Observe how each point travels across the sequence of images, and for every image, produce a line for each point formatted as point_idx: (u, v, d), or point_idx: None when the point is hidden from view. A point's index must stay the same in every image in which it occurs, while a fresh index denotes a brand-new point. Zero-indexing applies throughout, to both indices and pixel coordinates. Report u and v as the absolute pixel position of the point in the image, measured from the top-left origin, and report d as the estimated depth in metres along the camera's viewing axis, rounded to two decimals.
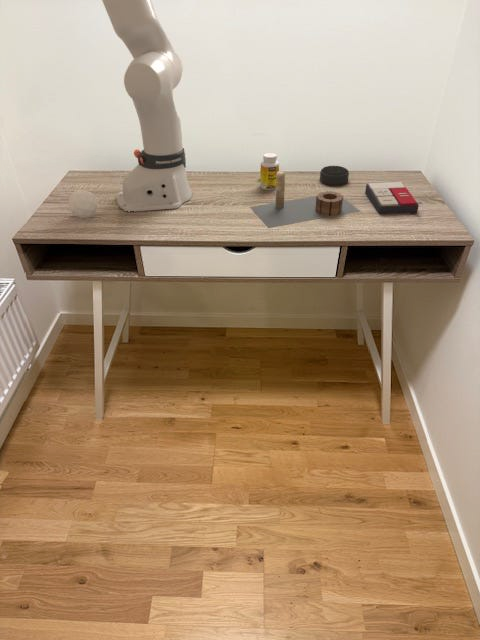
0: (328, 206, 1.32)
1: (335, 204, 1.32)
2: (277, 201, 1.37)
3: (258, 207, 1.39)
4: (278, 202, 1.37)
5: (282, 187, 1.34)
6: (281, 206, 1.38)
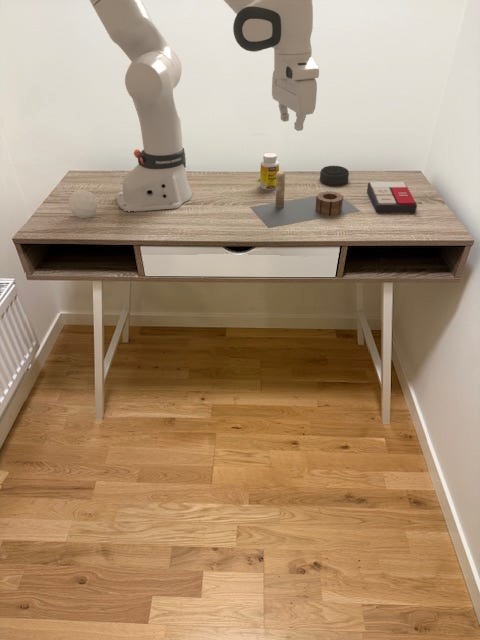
0: (328, 206, 1.32)
1: (335, 204, 1.32)
2: (277, 201, 1.37)
3: (258, 207, 1.39)
4: (278, 202, 1.37)
5: (282, 187, 1.34)
6: (281, 206, 1.38)
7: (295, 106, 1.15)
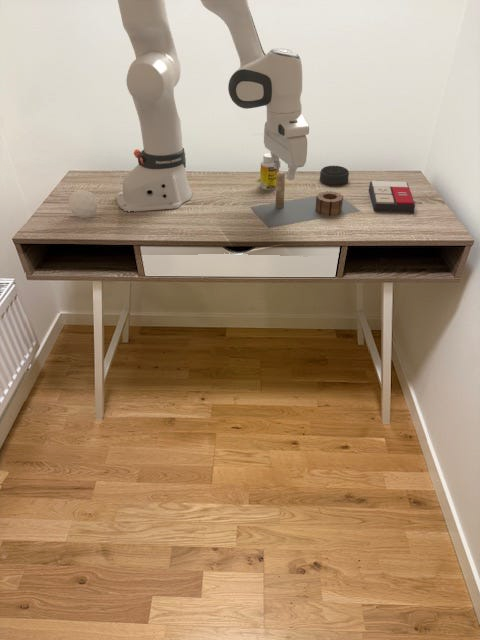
0: (328, 206, 1.32)
1: (335, 204, 1.32)
2: (277, 201, 1.37)
3: (258, 207, 1.39)
4: (278, 202, 1.37)
5: (282, 187, 1.34)
6: (281, 206, 1.38)
7: (287, 159, 1.23)
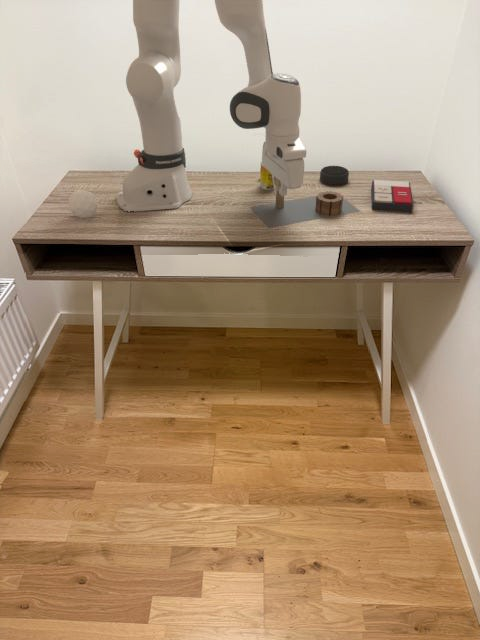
0: (328, 206, 1.32)
1: (335, 204, 1.32)
2: (277, 201, 1.37)
3: (258, 207, 1.39)
4: (278, 202, 1.37)
5: None
6: (281, 206, 1.38)
7: (284, 180, 1.27)
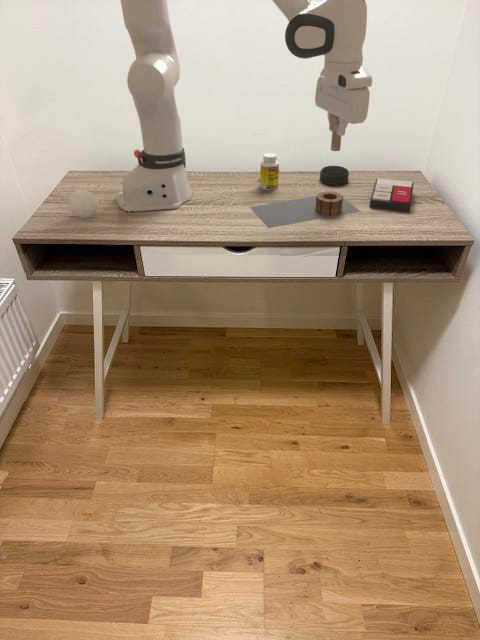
0: (328, 206, 1.32)
1: (335, 204, 1.32)
2: (333, 142, 1.24)
3: (258, 207, 1.39)
4: (334, 144, 1.24)
5: None
6: (338, 148, 1.25)
7: (346, 115, 1.15)
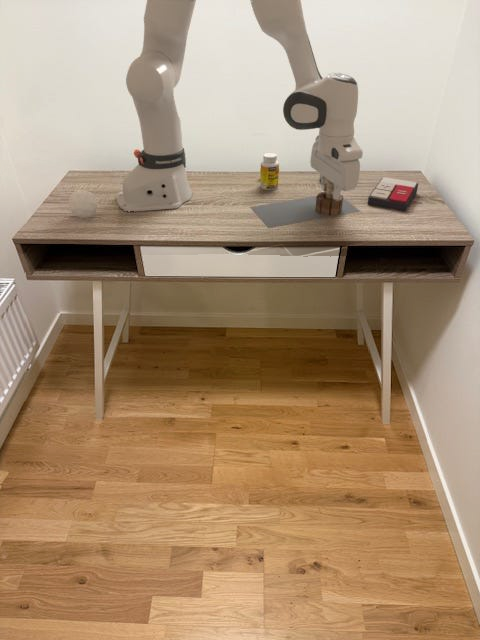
0: (328, 206, 1.32)
1: (335, 204, 1.32)
2: None
3: (258, 207, 1.39)
4: None
5: (333, 190, 1.32)
6: None
7: (338, 182, 1.25)
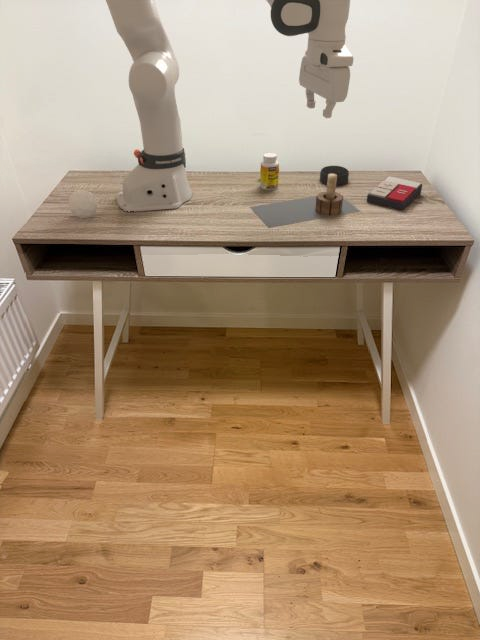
0: (328, 206, 1.32)
1: (335, 204, 1.32)
2: None
3: (258, 207, 1.39)
4: None
5: (333, 189, 1.32)
6: None
7: (327, 93, 1.17)
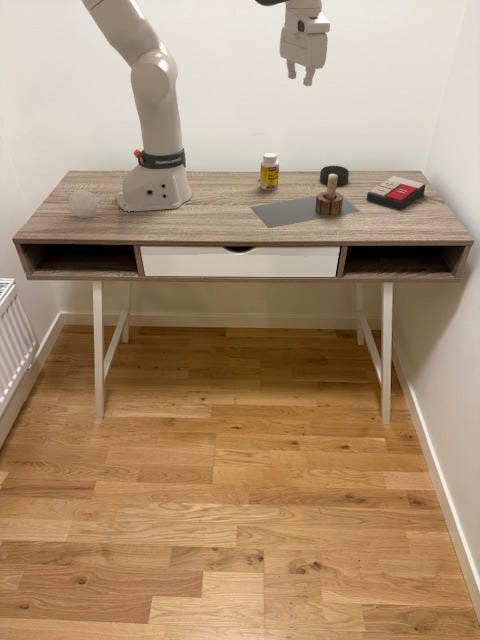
0: (328, 206, 1.32)
1: (335, 204, 1.32)
2: None
3: (258, 207, 1.39)
4: None
5: (334, 190, 1.32)
6: None
7: (306, 61, 1.19)
